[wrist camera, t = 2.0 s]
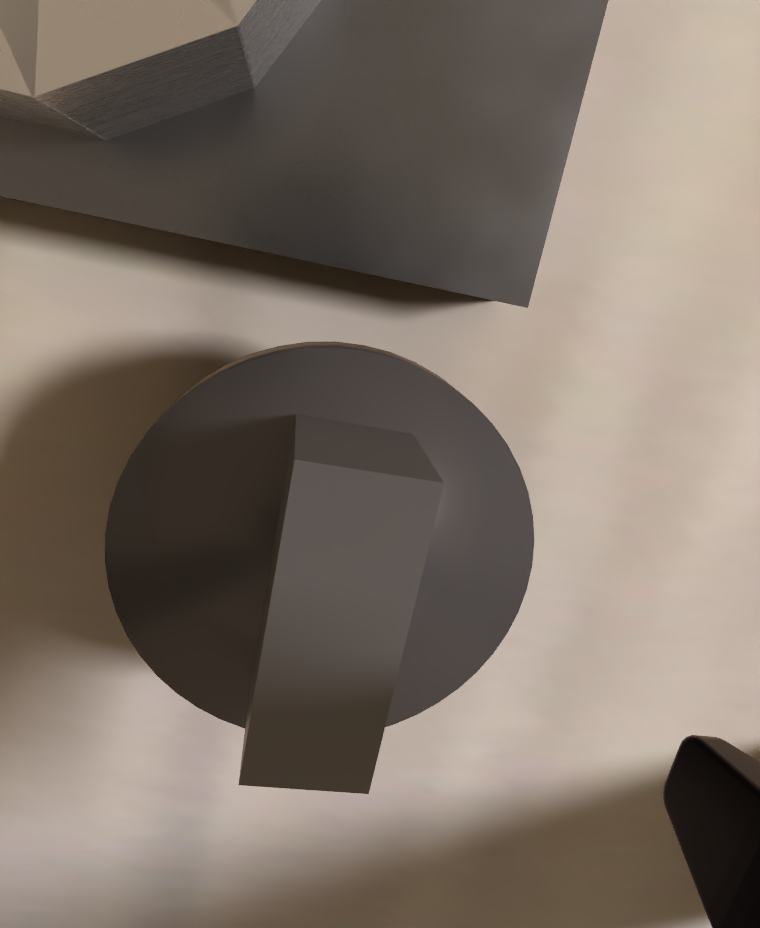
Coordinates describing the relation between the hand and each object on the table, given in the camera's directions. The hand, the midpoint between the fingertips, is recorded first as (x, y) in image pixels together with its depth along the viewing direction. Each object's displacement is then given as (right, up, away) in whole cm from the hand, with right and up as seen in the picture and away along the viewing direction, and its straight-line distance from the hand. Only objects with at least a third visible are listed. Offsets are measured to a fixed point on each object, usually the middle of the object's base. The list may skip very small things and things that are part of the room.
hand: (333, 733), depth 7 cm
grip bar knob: (-1, +2, +8) cm, 8 cm away
